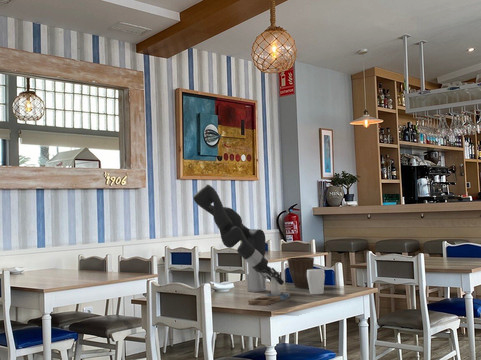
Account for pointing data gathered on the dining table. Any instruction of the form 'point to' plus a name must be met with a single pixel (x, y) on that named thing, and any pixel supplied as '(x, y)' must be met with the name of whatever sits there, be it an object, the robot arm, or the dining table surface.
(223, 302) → the dining table surface
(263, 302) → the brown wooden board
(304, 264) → the plant pot
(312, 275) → the cup
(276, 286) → the salt mill
